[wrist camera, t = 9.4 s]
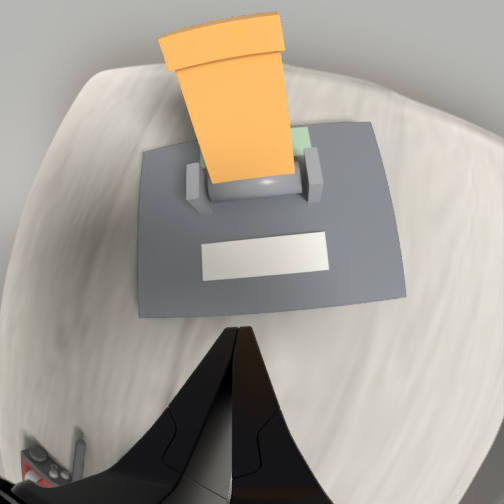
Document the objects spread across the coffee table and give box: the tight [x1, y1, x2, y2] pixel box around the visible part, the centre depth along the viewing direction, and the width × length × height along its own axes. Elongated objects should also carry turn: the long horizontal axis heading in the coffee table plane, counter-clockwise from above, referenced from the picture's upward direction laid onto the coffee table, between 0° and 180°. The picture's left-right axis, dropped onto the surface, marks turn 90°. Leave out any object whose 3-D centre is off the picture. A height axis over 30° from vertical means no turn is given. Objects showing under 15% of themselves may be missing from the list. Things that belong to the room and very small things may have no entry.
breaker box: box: [138, 122, 406, 318], centre depth 19 cm, size 13×18×4 cm
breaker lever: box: [159, 11, 302, 203], centre depth 15 cm, size 2×6×11 cm, turn 94°
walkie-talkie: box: [21, 439, 86, 487], centre depth 17 cm, size 9×4×20 cm
